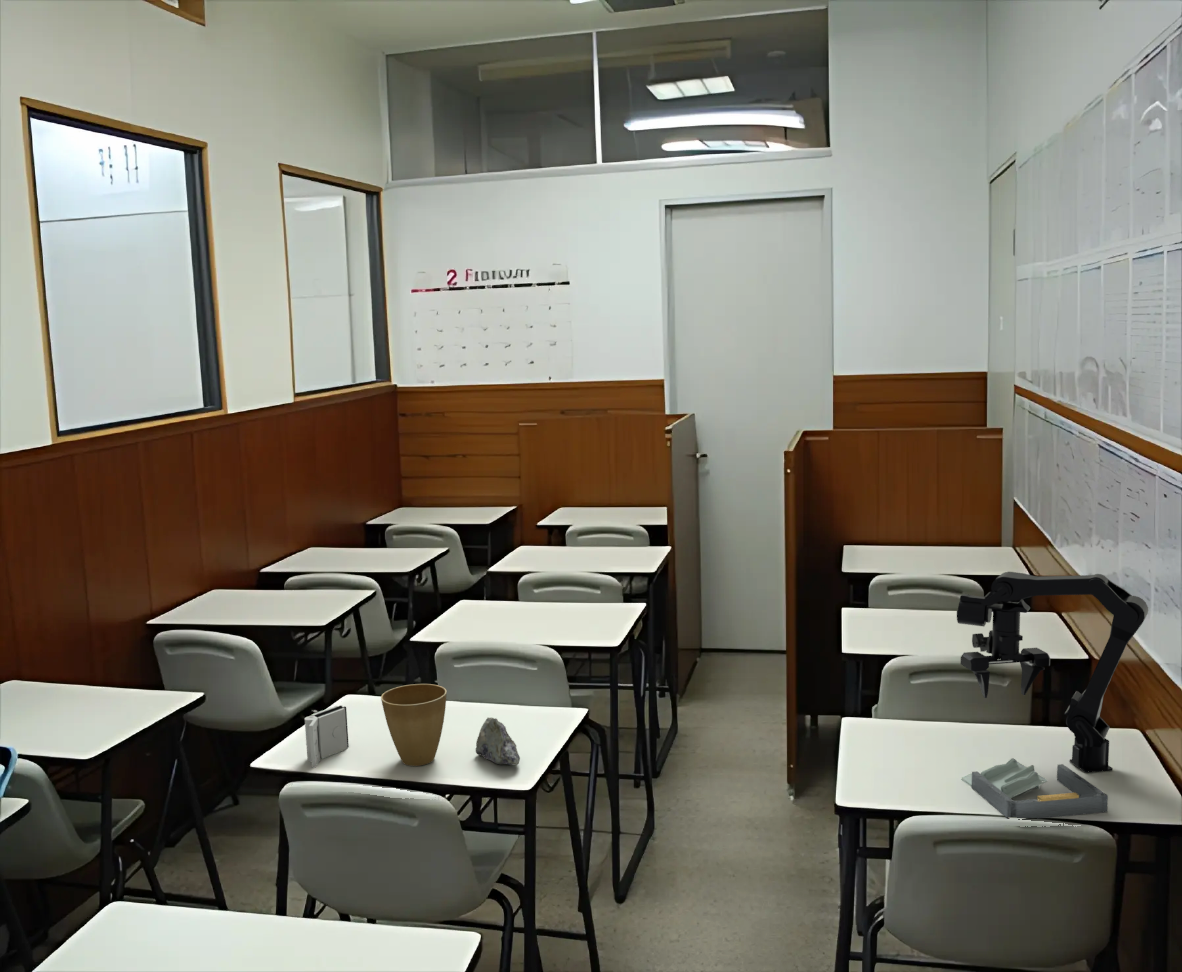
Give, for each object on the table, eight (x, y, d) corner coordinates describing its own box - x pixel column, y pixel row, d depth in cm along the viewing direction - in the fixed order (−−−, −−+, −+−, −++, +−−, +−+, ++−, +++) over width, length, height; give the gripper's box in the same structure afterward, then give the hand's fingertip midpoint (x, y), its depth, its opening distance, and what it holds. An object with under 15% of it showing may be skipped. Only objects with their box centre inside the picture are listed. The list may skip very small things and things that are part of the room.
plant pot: (448, 745, 263) (445, 680, 260) (450, 769, 248) (447, 701, 246) (385, 750, 260) (381, 685, 258) (383, 775, 246) (379, 706, 244)
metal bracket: (1011, 748, 238) (1055, 774, 223) (1017, 771, 239) (1062, 799, 224) (953, 773, 235) (995, 802, 221) (960, 797, 236) (1001, 827, 222)
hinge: (337, 766, 252) (334, 725, 250) (301, 767, 252) (299, 726, 250) (349, 745, 265) (347, 705, 263) (315, 746, 265) (313, 706, 263)
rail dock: (1062, 779, 234) (1062, 761, 233) (1107, 812, 218) (1108, 792, 218) (971, 787, 231) (971, 769, 231) (1010, 821, 215) (1011, 801, 215)
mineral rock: (519, 772, 246) (517, 729, 244) (471, 774, 246) (469, 730, 244) (522, 750, 258) (521, 709, 257) (476, 752, 258) (475, 710, 257)
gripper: (1026, 617, 255) (1024, 682, 257) (950, 622, 253) (948, 687, 255) (1052, 630, 244) (1050, 697, 247) (973, 635, 242) (971, 703, 244)
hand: (1004, 696), depth 248 cm, fingers open, 9 cm apart
